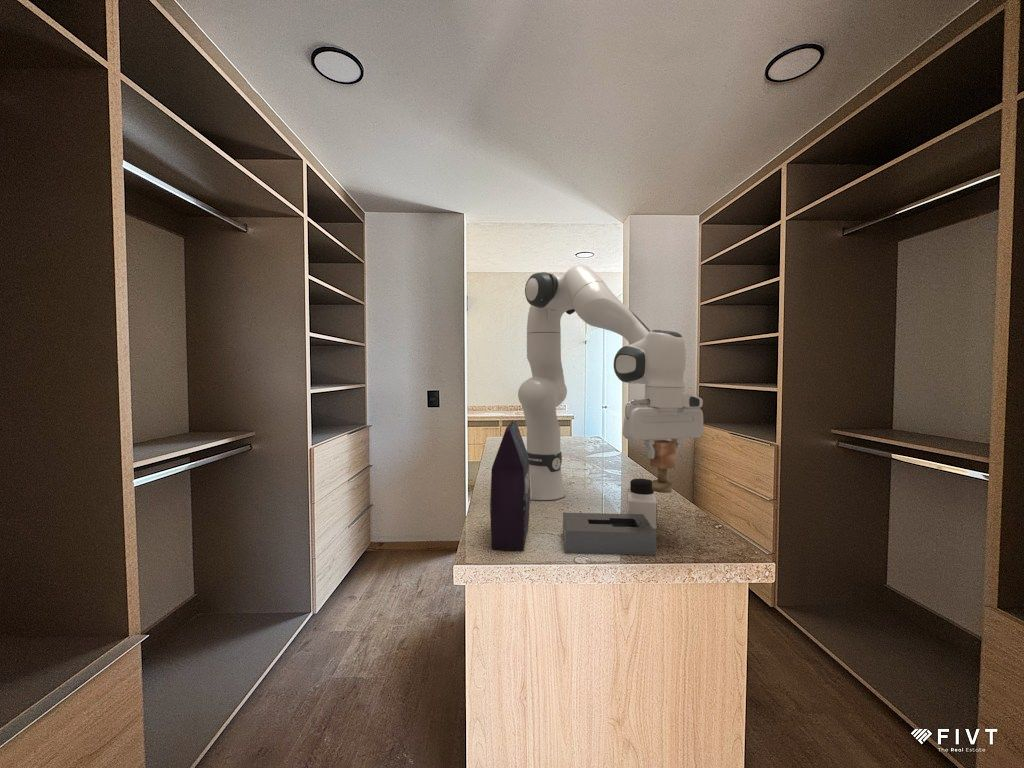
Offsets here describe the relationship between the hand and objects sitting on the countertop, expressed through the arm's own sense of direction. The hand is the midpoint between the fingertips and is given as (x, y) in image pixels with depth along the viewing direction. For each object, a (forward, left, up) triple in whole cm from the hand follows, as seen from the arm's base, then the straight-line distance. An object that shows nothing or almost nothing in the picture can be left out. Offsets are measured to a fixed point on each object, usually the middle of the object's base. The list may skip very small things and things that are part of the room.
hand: (662, 457), depth 106 cm
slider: (0, 0, -8) cm, 8 cm away
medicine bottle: (-11, +9, -21) cm, 25 cm away
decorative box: (-26, -24, -21) cm, 41 cm away
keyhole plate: (-9, -9, -21) cm, 24 cm away
